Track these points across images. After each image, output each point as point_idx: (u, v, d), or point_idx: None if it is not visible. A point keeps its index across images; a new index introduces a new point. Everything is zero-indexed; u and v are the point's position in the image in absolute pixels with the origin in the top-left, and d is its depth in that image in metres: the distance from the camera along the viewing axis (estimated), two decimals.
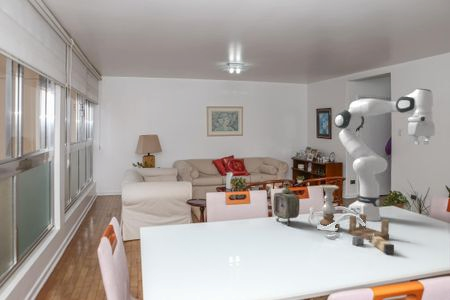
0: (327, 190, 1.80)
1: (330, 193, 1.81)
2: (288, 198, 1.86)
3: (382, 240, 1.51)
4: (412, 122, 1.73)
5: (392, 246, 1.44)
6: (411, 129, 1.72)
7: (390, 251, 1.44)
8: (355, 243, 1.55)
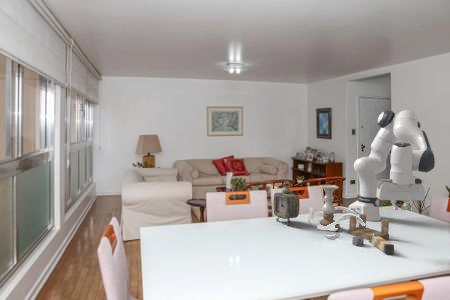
0: (327, 190, 1.80)
1: (330, 193, 1.81)
2: (288, 198, 1.86)
3: (382, 240, 1.51)
4: None
5: (392, 246, 1.44)
6: None
7: (390, 251, 1.44)
8: (355, 243, 1.55)
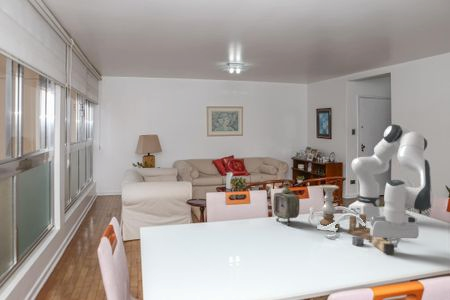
0: (327, 190, 1.80)
1: (330, 193, 1.81)
2: (288, 198, 1.86)
3: (382, 240, 1.51)
4: None
5: (392, 246, 1.44)
6: None
7: (390, 251, 1.44)
8: (355, 243, 1.55)
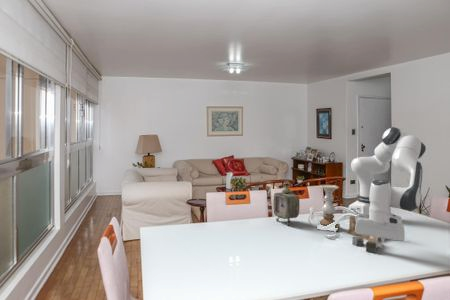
0: (327, 190, 1.80)
1: (330, 193, 1.81)
2: (288, 198, 1.86)
3: (373, 239, 1.52)
4: (401, 224, 1.42)
5: (373, 245, 1.45)
6: (404, 232, 1.41)
7: (371, 249, 1.46)
8: (355, 243, 1.55)
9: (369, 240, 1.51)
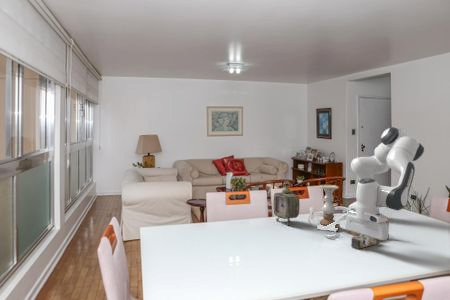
0: (327, 190, 1.80)
1: (330, 193, 1.81)
2: (288, 198, 1.86)
3: None
4: (383, 223, 1.42)
5: (357, 241, 1.50)
6: (385, 232, 1.41)
7: (355, 245, 1.51)
8: None
9: (359, 237, 1.54)
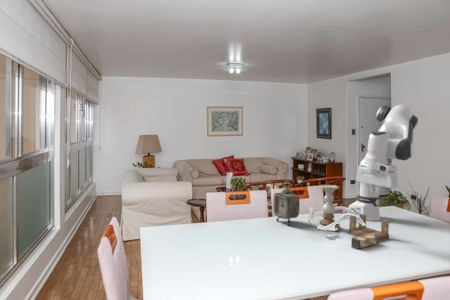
0: (327, 190, 1.80)
1: (330, 193, 1.81)
2: (288, 198, 1.86)
3: (364, 237, 1.54)
4: (392, 172, 1.48)
5: (357, 241, 1.50)
6: (394, 181, 1.47)
7: (355, 245, 1.51)
8: None
9: (359, 237, 1.54)
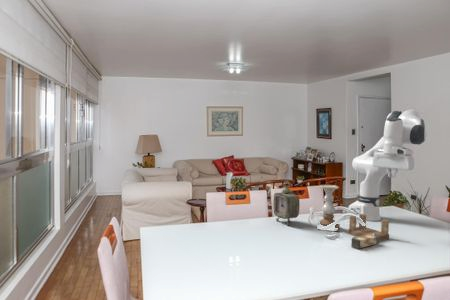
0: (327, 190, 1.80)
1: (330, 193, 1.81)
2: (288, 198, 1.86)
3: (364, 237, 1.54)
4: (409, 155, 1.58)
5: (357, 241, 1.50)
6: (411, 163, 1.57)
7: (355, 245, 1.51)
8: None
9: (359, 237, 1.54)
